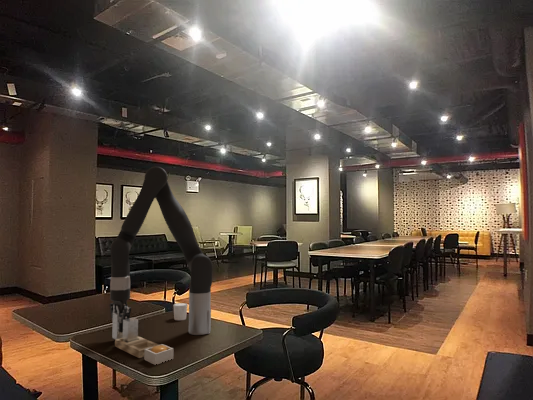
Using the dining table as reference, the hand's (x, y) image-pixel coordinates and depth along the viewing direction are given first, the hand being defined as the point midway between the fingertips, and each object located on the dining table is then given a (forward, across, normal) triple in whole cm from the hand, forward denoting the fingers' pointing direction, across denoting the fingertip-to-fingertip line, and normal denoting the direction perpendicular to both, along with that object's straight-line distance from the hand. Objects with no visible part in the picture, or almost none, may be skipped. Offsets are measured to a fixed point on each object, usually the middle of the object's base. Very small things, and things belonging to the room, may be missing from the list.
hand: (119, 330), depth 141 cm
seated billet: (+4, +9, 0) cm, 10 cm away
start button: (+3, +29, 0) cm, 29 cm away
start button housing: (+4, +29, 0) cm, 29 cm away
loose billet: (+3, 0, 0) cm, 3 cm away
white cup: (+4, -9, +35) cm, 36 cm away
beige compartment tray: (+4, +14, 0) cm, 14 cm away
